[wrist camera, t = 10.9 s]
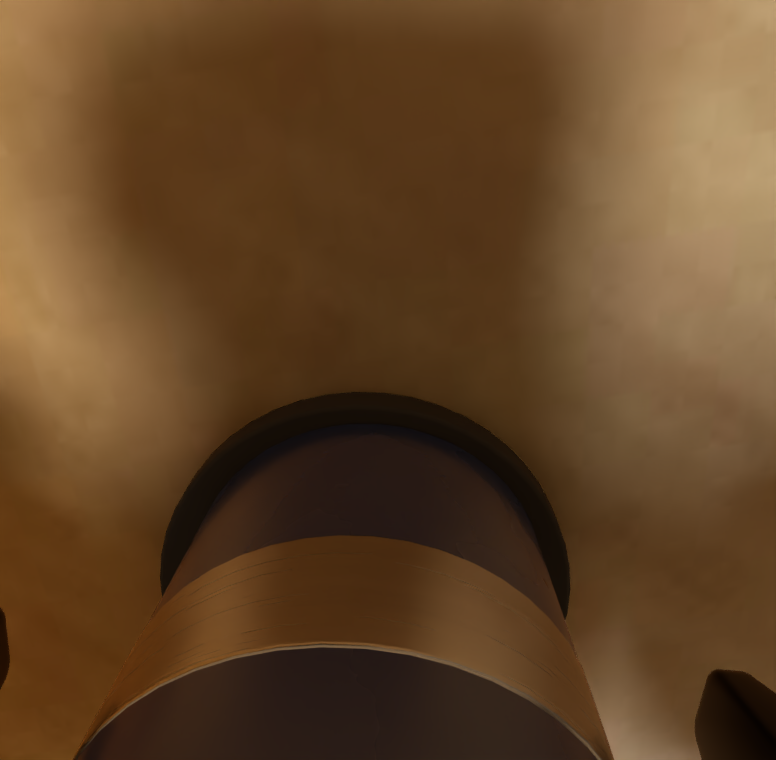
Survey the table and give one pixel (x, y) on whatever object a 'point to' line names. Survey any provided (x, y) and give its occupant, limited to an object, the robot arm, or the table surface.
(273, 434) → the coaster
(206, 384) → the table surface
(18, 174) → the table surface
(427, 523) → the can
